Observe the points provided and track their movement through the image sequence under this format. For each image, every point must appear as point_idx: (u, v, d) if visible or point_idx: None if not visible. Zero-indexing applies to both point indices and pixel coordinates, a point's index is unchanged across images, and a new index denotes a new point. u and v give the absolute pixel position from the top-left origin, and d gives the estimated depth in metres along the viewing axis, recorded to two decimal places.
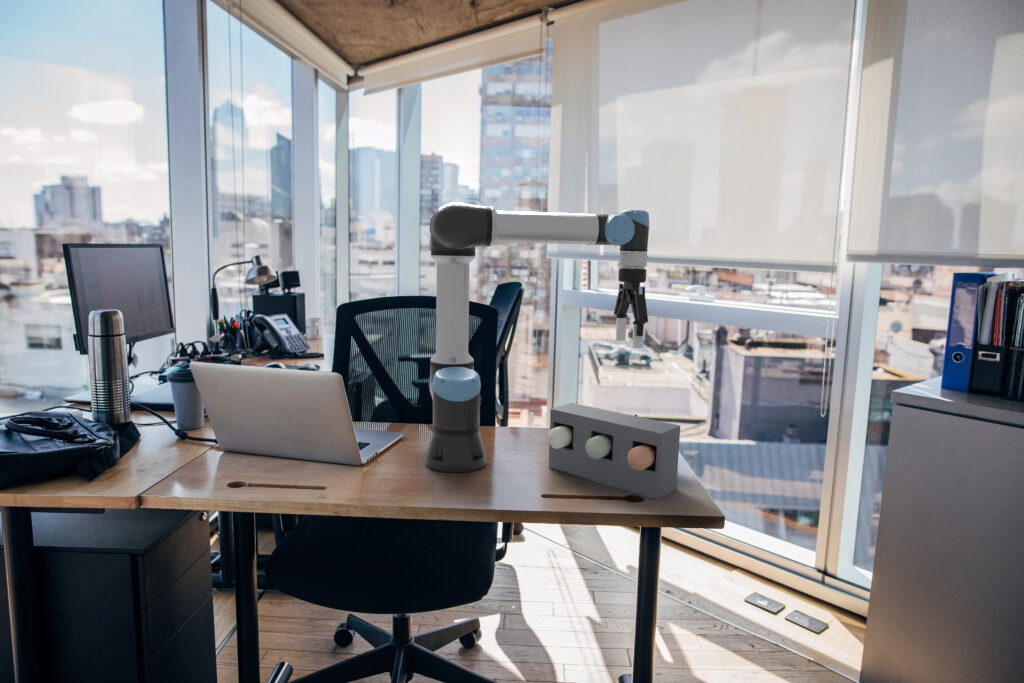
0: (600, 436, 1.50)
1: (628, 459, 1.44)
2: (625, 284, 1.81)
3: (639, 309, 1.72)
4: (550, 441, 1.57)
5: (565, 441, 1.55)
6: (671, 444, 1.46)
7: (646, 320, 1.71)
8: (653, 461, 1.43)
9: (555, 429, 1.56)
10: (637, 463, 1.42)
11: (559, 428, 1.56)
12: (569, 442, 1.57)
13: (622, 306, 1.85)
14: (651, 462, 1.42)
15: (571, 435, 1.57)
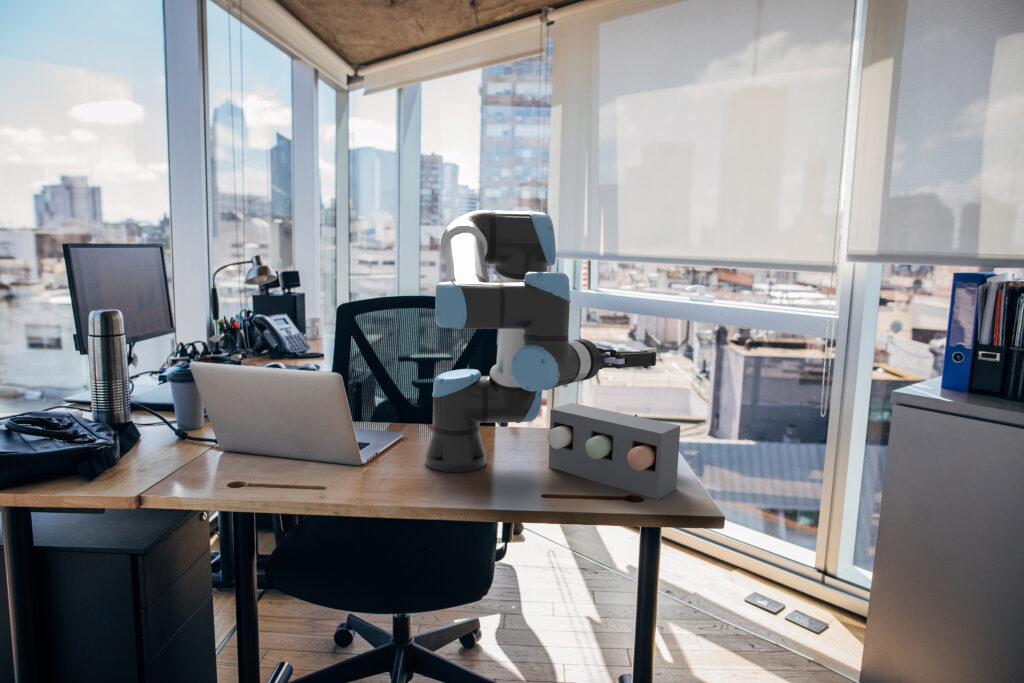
0: (600, 436, 1.50)
1: (628, 459, 1.44)
2: None
3: None
4: (550, 441, 1.57)
5: (565, 441, 1.55)
6: (671, 444, 1.46)
7: None
8: (653, 461, 1.43)
9: (555, 429, 1.56)
10: (637, 463, 1.42)
11: (559, 428, 1.56)
12: (569, 442, 1.57)
13: None
14: (651, 462, 1.42)
15: (571, 435, 1.57)
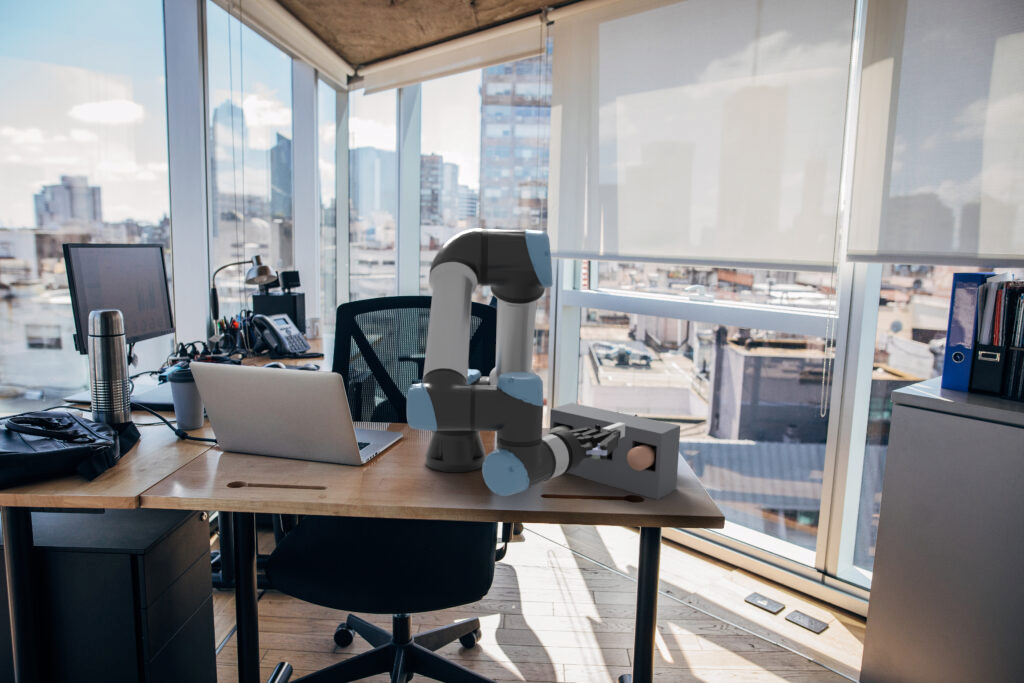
0: None
1: (628, 459, 1.44)
2: None
3: None
4: None
5: None
6: (671, 444, 1.46)
7: None
8: (653, 461, 1.43)
9: (555, 429, 1.56)
10: (637, 463, 1.42)
11: (559, 428, 1.56)
12: None
13: None
14: (651, 462, 1.42)
15: None
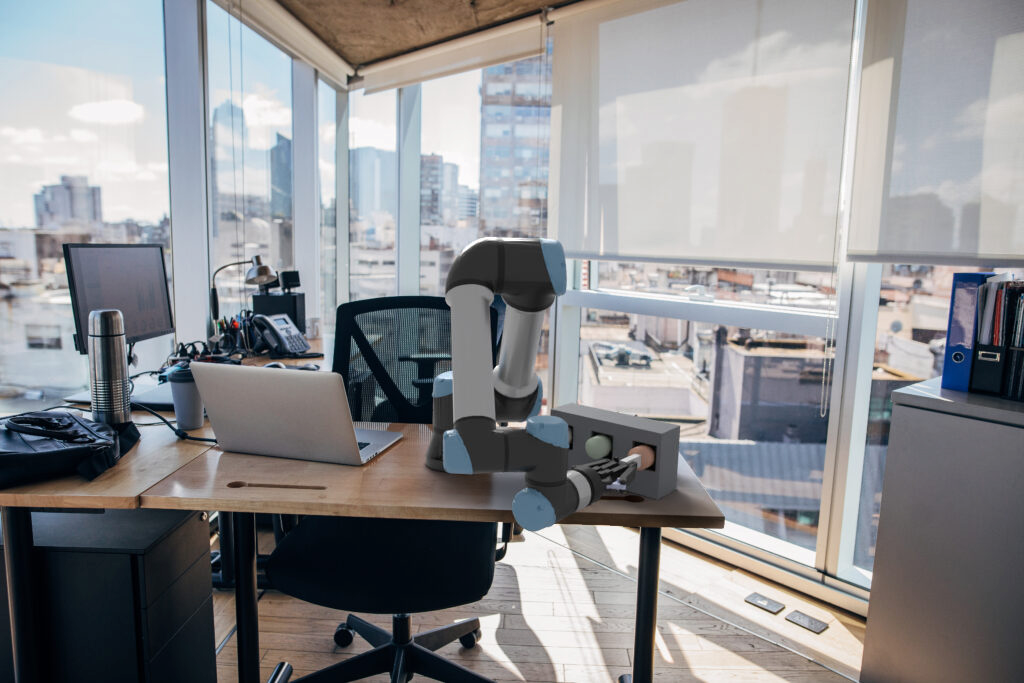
0: (600, 436, 1.50)
1: None
2: (601, 481, 1.25)
3: None
4: None
5: None
6: (671, 444, 1.46)
7: None
8: (653, 461, 1.43)
9: None
10: None
11: None
12: (569, 442, 1.57)
13: None
14: (651, 462, 1.43)
15: (571, 435, 1.57)
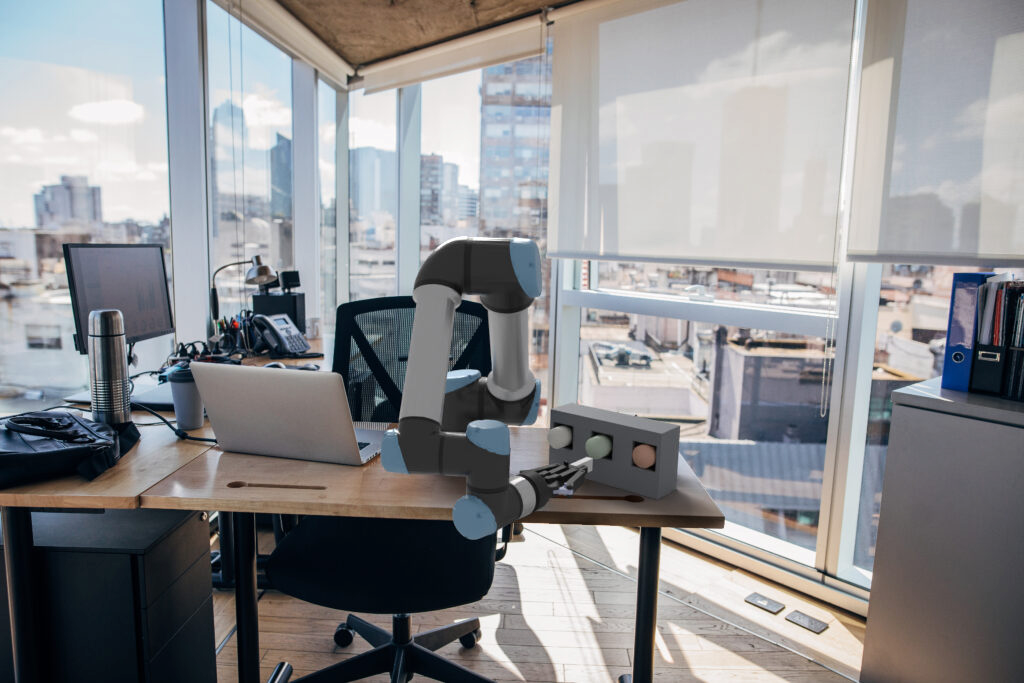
0: (600, 436, 1.50)
1: (633, 457, 1.45)
2: (547, 486, 1.23)
3: None
4: (550, 441, 1.57)
5: (565, 441, 1.55)
6: (671, 444, 1.46)
7: None
8: None
9: (555, 429, 1.56)
10: (642, 460, 1.44)
11: (559, 428, 1.56)
12: (569, 442, 1.57)
13: None
14: None
15: (571, 435, 1.57)
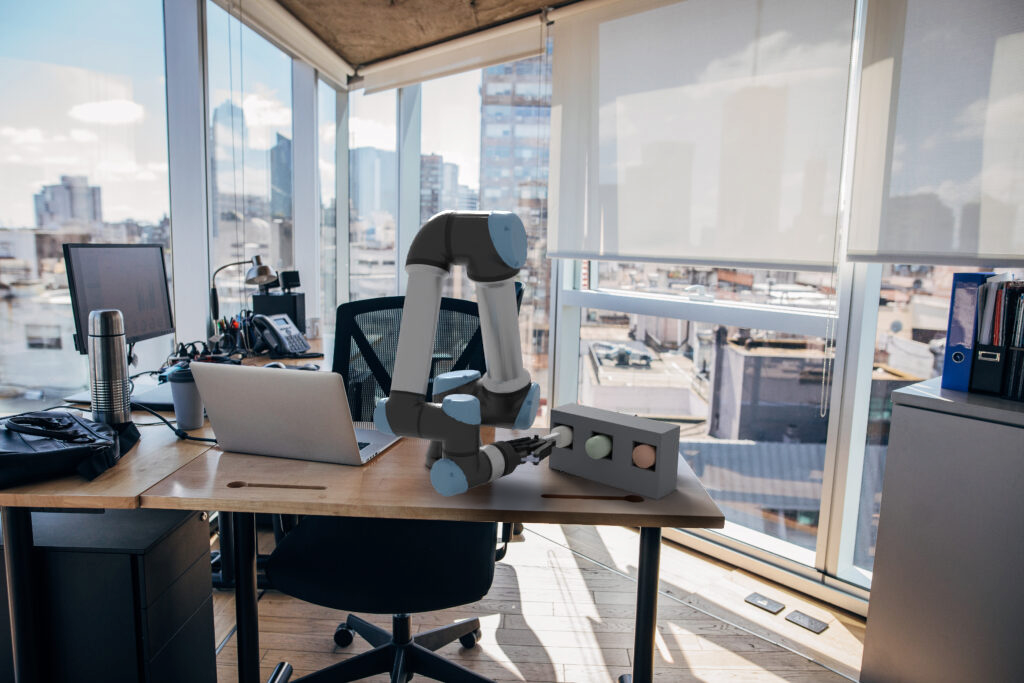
0: (600, 436, 1.50)
1: (633, 457, 1.45)
2: (516, 454, 1.40)
3: None
4: None
5: (568, 440, 1.56)
6: (671, 444, 1.46)
7: None
8: None
9: (558, 428, 1.57)
10: (642, 460, 1.44)
11: (562, 427, 1.57)
12: (572, 441, 1.58)
13: None
14: None
15: None
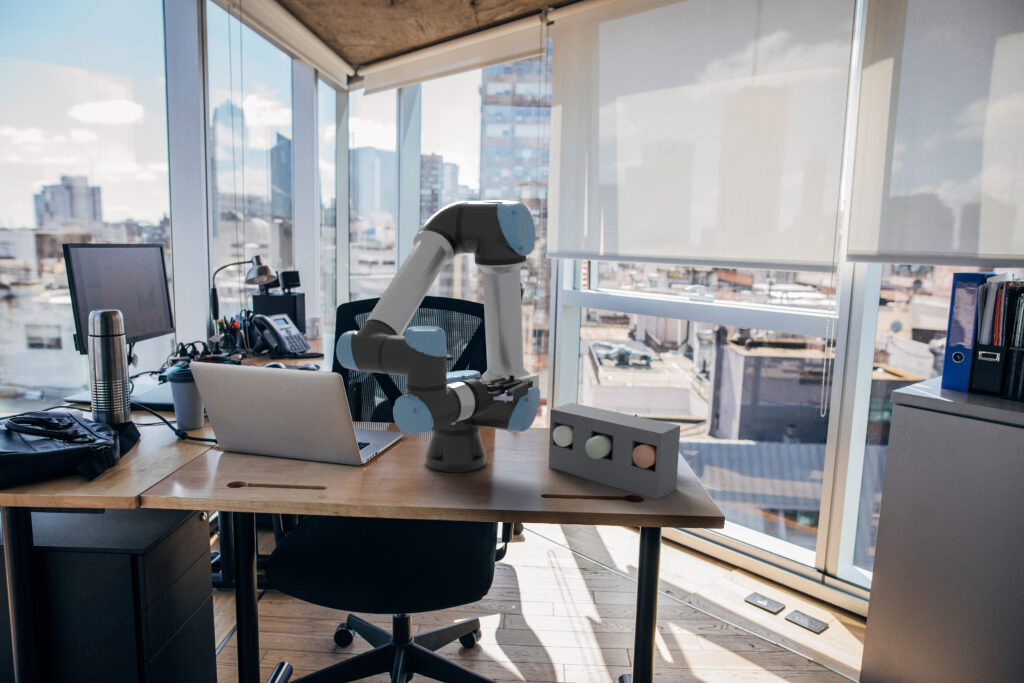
0: (600, 436, 1.50)
1: (633, 457, 1.45)
2: (488, 393, 1.31)
3: None
4: (556, 439, 1.59)
5: (571, 439, 1.57)
6: (671, 444, 1.46)
7: None
8: None
9: (561, 427, 1.58)
10: (642, 460, 1.44)
11: (565, 426, 1.58)
12: None
13: None
14: None
15: None
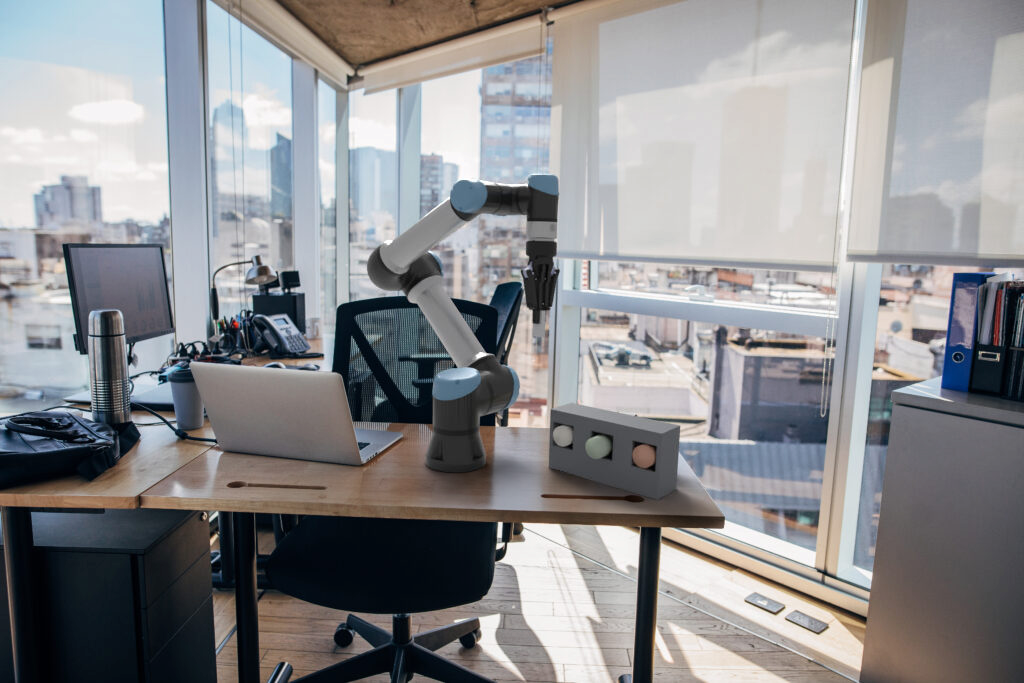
0: (600, 436, 1.50)
1: (633, 457, 1.45)
2: None
3: (526, 295, 1.57)
4: (556, 439, 1.59)
5: (571, 439, 1.57)
6: (671, 444, 1.46)
7: (533, 307, 1.57)
8: None
9: (561, 427, 1.58)
10: (642, 460, 1.44)
11: (565, 426, 1.58)
12: None
13: None
14: None
15: None
